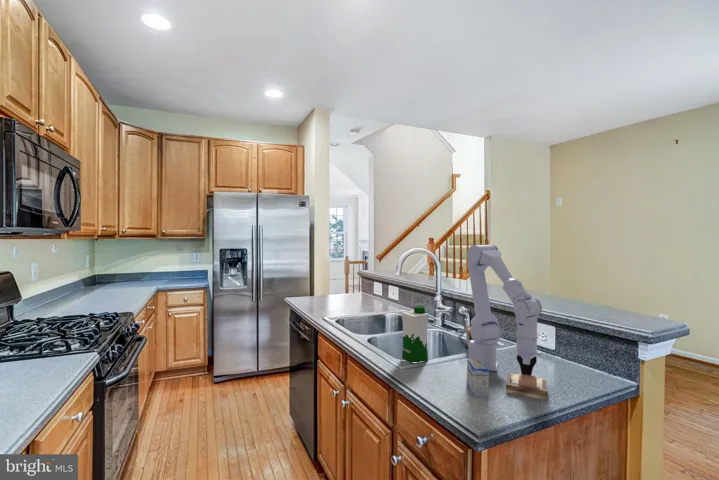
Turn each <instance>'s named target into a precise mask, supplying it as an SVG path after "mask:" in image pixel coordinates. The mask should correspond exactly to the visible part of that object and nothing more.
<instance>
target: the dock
mask: <svg viewBox="0 0 719 480" xmlns="http://www.w3.org/2000/svg"><path fill="white" fill-rule="evenodd" d="M518 376H519V373H518V374H516V373H510V372H509V373H507V377H506V384H505V393H506V394H507V393H508V394H512V395H518V396H523V397H528V398H534V399H538V400H539V399H540V400H544V401H545V400H546V401H547V400H548V397H547V396H548V389H547V380H546V379H545V378H541V377H536V380H537V388H531V387H526V386H520V385H518Z"/></svg>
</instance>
